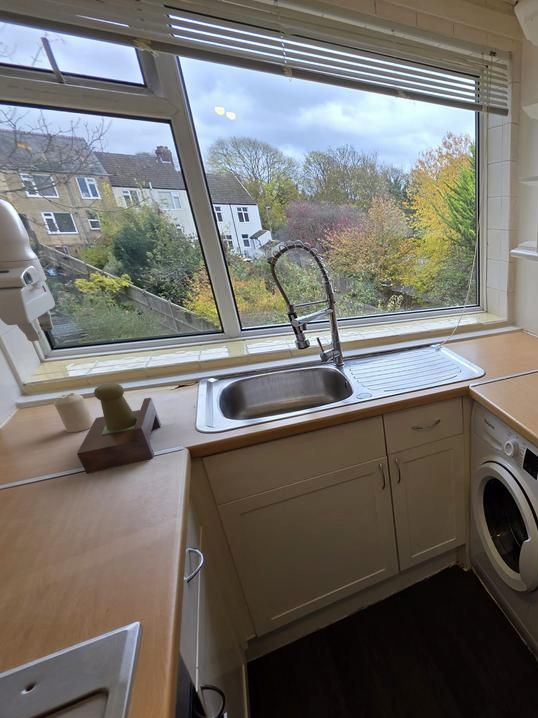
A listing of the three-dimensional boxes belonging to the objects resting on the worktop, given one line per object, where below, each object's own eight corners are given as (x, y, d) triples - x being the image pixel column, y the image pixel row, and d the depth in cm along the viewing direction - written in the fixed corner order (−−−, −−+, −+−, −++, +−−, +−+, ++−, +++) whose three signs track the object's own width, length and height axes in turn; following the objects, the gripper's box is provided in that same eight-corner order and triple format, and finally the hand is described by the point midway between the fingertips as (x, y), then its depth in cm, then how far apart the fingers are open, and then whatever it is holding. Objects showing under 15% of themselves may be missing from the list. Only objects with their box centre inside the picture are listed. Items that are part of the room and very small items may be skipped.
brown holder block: (86, 473, 93) (71, 442, 90) (103, 435, 108) (91, 407, 105) (153, 458, 100) (141, 428, 96) (161, 424, 115) (151, 397, 111)
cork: (137, 416, 107) (122, 378, 102) (139, 425, 103) (124, 385, 98) (106, 424, 103) (89, 384, 98) (107, 433, 99) (89, 392, 95)
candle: (92, 420, 116) (78, 388, 112) (97, 426, 113) (82, 394, 109) (64, 428, 112) (49, 395, 108) (69, 434, 109) (53, 401, 105)
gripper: (10, 268, 94) (37, 326, 100) (-29, 281, 79) (5, 349, 84) (49, 267, 98) (72, 323, 103) (18, 279, 82) (48, 344, 88)
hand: (42, 335), depth 94 cm, fingers open, 8 cm apart
